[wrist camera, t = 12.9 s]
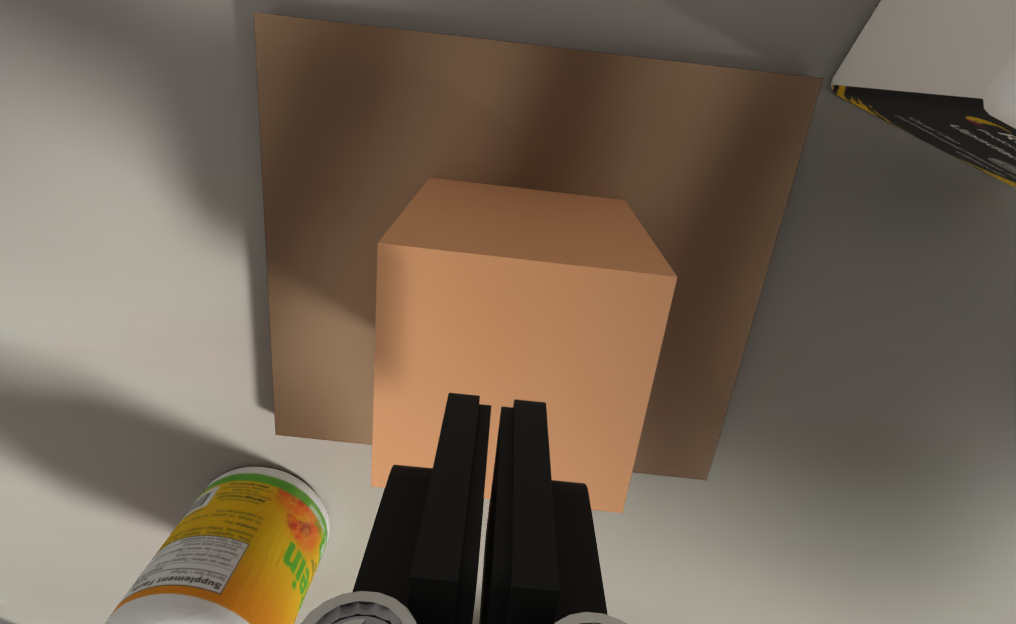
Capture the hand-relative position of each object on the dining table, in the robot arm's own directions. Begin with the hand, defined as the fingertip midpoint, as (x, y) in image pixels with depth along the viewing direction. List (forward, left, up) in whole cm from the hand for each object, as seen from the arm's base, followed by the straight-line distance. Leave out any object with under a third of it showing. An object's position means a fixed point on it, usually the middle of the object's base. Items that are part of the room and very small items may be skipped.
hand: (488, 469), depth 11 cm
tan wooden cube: (0, 0, -10) cm, 10 cm away
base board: (0, 0, -11) cm, 11 cm away
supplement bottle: (+9, +12, -11) cm, 18 cm away
